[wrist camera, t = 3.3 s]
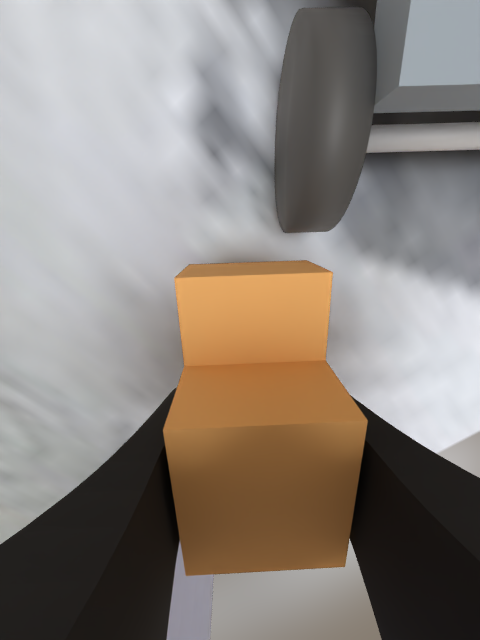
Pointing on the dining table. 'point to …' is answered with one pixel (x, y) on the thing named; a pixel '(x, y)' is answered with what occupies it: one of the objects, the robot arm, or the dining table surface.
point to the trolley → (368, 97)
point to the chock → (260, 422)
